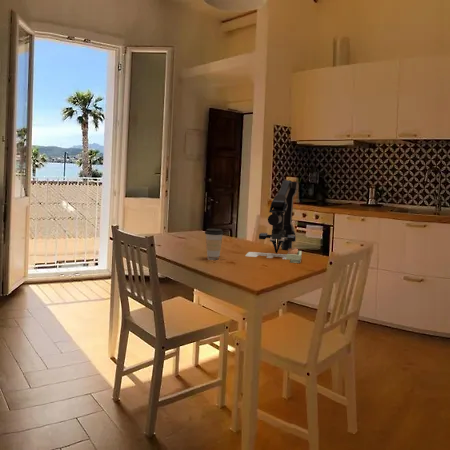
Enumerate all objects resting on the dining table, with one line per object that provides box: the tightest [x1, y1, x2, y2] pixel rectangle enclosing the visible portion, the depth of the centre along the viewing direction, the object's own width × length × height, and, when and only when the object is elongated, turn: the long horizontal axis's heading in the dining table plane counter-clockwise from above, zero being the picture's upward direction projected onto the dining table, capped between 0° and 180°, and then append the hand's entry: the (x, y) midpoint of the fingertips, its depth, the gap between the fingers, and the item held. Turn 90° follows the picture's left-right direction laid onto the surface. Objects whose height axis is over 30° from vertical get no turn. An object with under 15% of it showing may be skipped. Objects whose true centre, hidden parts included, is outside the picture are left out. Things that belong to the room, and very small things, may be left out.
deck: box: [245, 250, 303, 264], centre depth 240 cm, size 13×28×4 cm, turn 79°
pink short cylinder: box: [287, 247, 299, 255], centre depth 240 cm, size 5×5×4 cm
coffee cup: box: [204, 228, 225, 261], centre depth 232 cm, size 9×9×15 cm
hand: (276, 253), depth 242 cm, fingers closed
